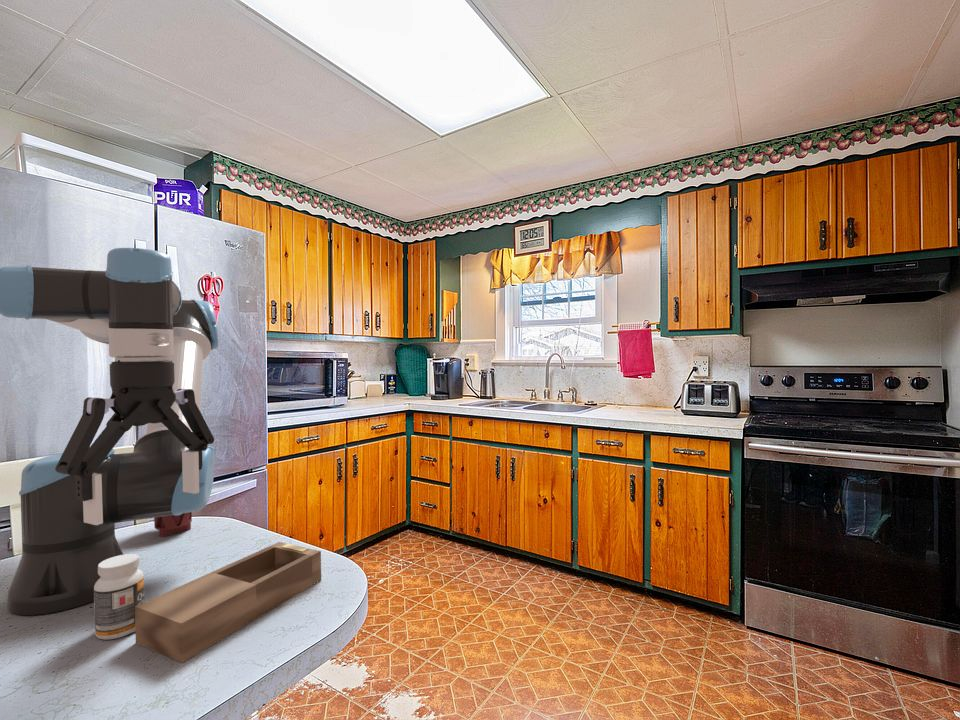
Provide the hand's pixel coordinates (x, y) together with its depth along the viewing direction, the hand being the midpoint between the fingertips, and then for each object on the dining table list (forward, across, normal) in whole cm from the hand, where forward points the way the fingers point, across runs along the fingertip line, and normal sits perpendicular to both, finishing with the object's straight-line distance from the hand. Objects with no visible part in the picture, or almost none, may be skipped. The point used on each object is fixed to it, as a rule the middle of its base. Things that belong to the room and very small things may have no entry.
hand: (146, 506), depth 68 cm
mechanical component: (+19, +26, +32) cm, 46 cm away
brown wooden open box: (+17, +8, -9) cm, 21 cm away
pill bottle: (+18, -3, +2) cm, 18 cm away
